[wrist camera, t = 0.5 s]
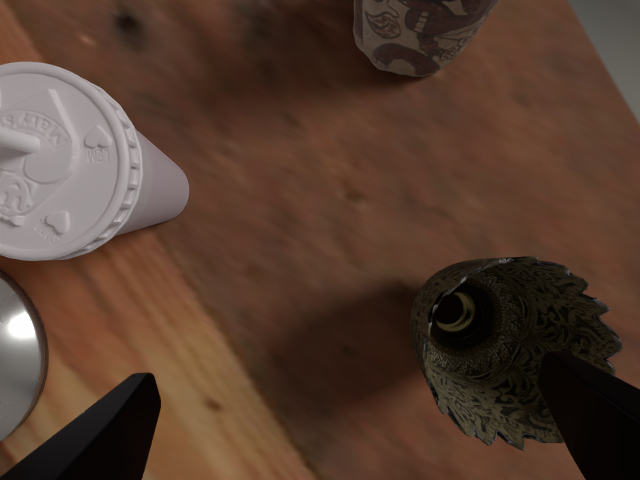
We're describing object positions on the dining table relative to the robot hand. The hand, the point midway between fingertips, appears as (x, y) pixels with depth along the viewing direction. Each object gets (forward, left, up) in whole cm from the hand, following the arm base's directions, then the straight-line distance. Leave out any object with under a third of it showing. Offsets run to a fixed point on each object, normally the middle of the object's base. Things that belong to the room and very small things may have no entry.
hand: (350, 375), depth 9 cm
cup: (0, -7, -13) cm, 15 cm away
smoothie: (+3, +11, -13) cm, 17 cm away
